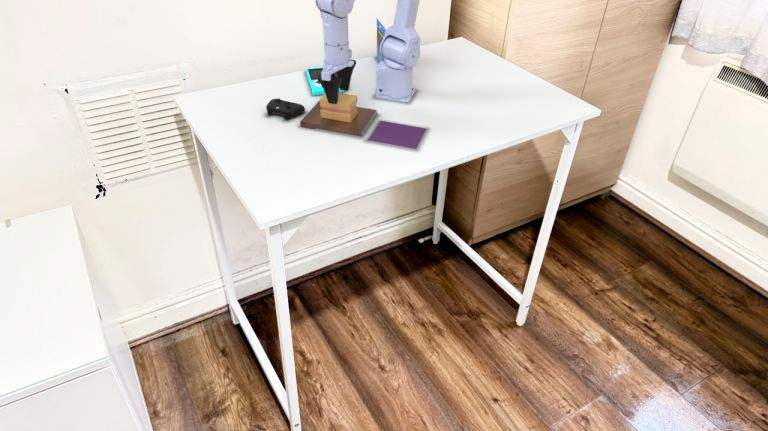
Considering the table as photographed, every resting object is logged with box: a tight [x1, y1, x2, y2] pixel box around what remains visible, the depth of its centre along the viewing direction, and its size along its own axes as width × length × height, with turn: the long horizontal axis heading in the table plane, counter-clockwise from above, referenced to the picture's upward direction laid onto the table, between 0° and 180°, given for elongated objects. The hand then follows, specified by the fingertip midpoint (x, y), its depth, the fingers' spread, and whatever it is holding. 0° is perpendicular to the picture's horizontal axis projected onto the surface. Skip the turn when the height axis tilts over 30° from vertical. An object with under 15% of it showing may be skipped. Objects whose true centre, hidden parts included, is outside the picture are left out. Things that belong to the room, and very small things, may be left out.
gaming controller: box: [265, 98, 306, 121], centre depth 135 cm, size 10×5×6 cm
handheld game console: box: [305, 66, 346, 96], centre depth 150 cm, size 10×16×1 cm, turn 14°
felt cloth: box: [367, 120, 427, 150], centre depth 128 cm, size 12×10×1 cm
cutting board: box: [300, 99, 378, 138], centre depth 132 cm, size 16×12×2 cm
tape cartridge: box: [376, 18, 387, 62], centre depth 158 cm, size 9×4×12 cm, turn 17°
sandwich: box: [319, 92, 358, 123], centre depth 130 cm, size 8×5×5 cm, turn 72°
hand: (338, 96), depth 129 cm, fingers open, 7 cm apart
